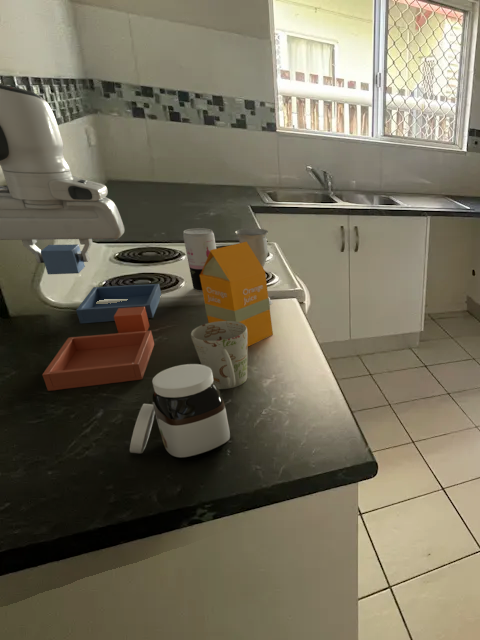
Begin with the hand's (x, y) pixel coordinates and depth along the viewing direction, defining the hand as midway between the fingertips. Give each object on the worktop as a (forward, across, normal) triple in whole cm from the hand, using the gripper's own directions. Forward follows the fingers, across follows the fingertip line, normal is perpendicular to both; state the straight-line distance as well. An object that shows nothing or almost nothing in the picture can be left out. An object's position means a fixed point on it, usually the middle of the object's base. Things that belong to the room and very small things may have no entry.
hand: (64, 261), depth 90 cm
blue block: (+2, 0, 0) cm, 2 cm away
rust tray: (+15, +6, -17) cm, 23 cm away
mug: (+15, +26, -31) cm, 43 cm away
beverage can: (+15, +20, +23) cm, 34 cm away
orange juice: (+15, +28, -11) cm, 34 cm away
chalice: (+15, +32, +9) cm, 37 cm away
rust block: (+15, +8, -2) cm, 17 cm away
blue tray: (+15, +4, +12) cm, 20 cm away
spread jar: (+15, +21, -47) cm, 53 cm away
